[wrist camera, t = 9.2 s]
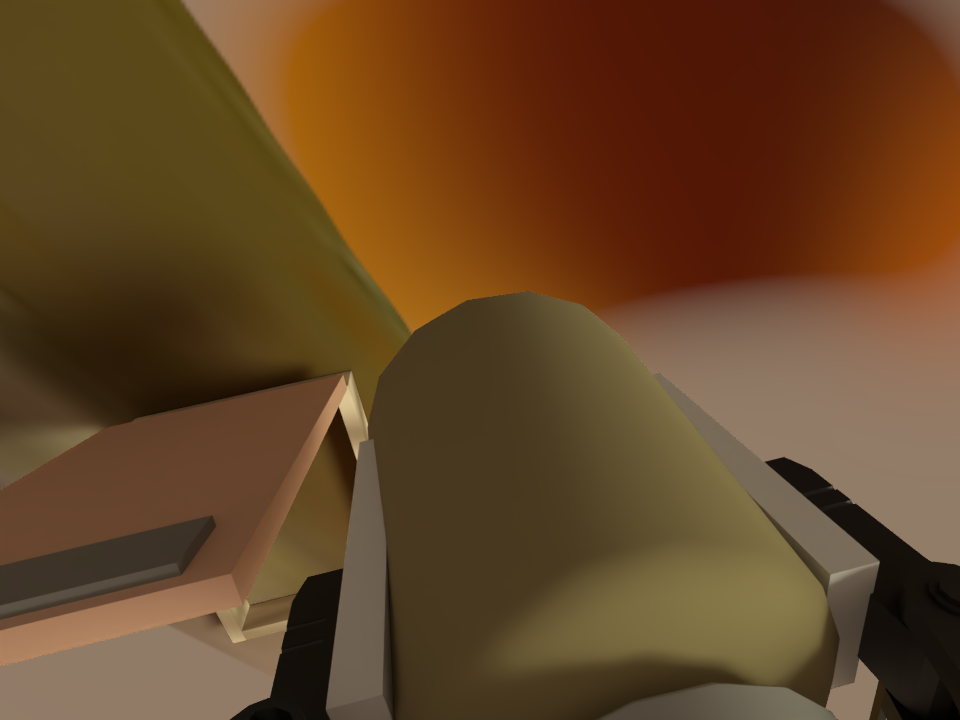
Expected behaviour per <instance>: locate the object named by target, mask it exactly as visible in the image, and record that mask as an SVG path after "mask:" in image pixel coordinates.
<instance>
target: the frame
mask: <svg viewBox="0 0 960 720" xmlns="http://www.w3.org/2000/svg"><path fill="white" fill-rule="evenodd" d="M339 375H343V376H344V379H345V383H346V386H347V391H346V393H345V395H344V397H343V399H342V401H341V403H340V405H339V408H340V411H341V414H342V417H343V420H344V423H345V426H346V429H347V432H348V435H349V438H350V441H351V444H352V447H353V450H354V453H355V456H356V459H358V451H359V443H360V442H362V441H366V440H368V429H367V427H368V423H367V419H366V416H365V413H364V410H363V407H362V404H361V400H360V397H359V394H358V391H357V388H356V384H355V381H354V378H353V375H352V372H351V370H350V371H346V372H341V373H337V374H332V375H328V376H323V377H319V378H314V379H310V380H305V381H301V382H296V383H292V384H287V385H283V386H278V387H274V388H269V389H265V390H260V391H256V392H251V393H247V394H242V395H238V396H233V397H229V398H224V399H220V400H215V401H211V402H206V403H202V404H198V405H193V406H189V407H184V408H180V409H175V410H171V411H166V412H162V413H157V414H153V415H148V416H144V417H139V418H135V419H134V420H133V421H138V420H142V419H147V418H151V417H155V416H160V415H164V414H169V413H173V412H178V411H182V410H187V409H191V408H196V407H200V406H205V405H209V404H214V403H218V402H223V401H227V400H232V399H236V398H241V397H245V396H250V395H254V394H259V393H263V392H267V391H272V390H276V389H281V388H285V387H290V386H294V385H299V384H303V383H308V382H312V381H317V380H321V379H326V378H330V377H335V376H339ZM133 421H132V422H133ZM296 595H297V594H294V595H290V596H286V597H282V598H278V599H274V600H270V601H266V602H262V603H258V604H254V605H249V603H248V601H247V599H246V600H245V602H244V604H243V605H242V606H238V607H234V608H230V609H226V610H222V611H218V612H216V613H217V615H218V617H219V618H220V620H221V622H222V624H223V626H224V627H225V629H226V631H227V633H228V634H229V636H230V638H231V640H232V641H233V643H236V642H240V641H244V640H248V639H252V638H256V637H260V636H264V635H268V634H271V633H275V632H279V631H283V630H287V628H286V626H287V622H288V617H289V613H290V609H291V604H292V601H293V599H294V598H295V596H296Z"/></svg>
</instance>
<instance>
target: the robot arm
mask: <svg viewBox="0 0 960 720" xmlns="http://www.w3.org/2000/svg"><path fill="white" fill-rule="evenodd" d="M652 375H653V376H654V377H655V378H656V380H657V381H658V382H659V383H660V385H661V386H662V387H663V388H664V390H665V391H666V392H667V393H668V395H669V396H670V397H671V398H672V400H673V401H674V402H675V403H676V405H677V406H678V407H679V408H680V410H681V411H682V412H683V413H684V414H685V416H686V417H687V418H688V419H689V421H690V422H691V423H692V424H693V426H694V427H695V428H696V429H697V431H698V432H699V433H700V434H701V436H702V437H703V438H704V439H705V441H706V442H707V443H708V444H709V446H710V447H711V448H712V449H713V451H714V452H715V453H716V454H717V455H718V457H719V458H720V459H721V460H722V462H723V463H724V464H725V465H726V467H727V468H728V469H729V470H730V472H731V473H732V474H733V475H734V477H735V478H736V479H737V480H738V482H739V483H740V484H741V485H742V487H743V488H744V489H745V490H746V492H747V493H748V494H749V495H750V496H751V498H752V499H753V500H754V501H755V503H756V504H757V505H758V506H759V508H760V509H761V510H762V511H763V513H764V514H765V515H766V516H767V518H768V519H769V520H770V521H771V523H772V524H773V525H774V526H775V528H776V529H777V530H778V531H779V533H780V534H781V535H782V536H783V537H784V539H785V540H786V541H787V542H788V544H789V545H790V546H791V547H792V549H793V550H794V551H795V552H796V554H797V555H798V556H799V557H800V559H801V560H802V561H803V562H804V564H805V565H806V566H807V567H808V569H809V570H810V571H811V572H812V573H813V575H814V576H815V577H816V578H817V580H818V581H819V582H820V583H821V585H822V586H823V589H824V592H825V595H826V598H827V601H828V604H829V607H830V610H831V613H832V616H833V619H834V622H835V625H836V628H837V631H838V634H839V637H840V641H839V647H838V653H837V659H836V665H835V671H834V677H833V682H832V686H831V689H833V688H836V687H840V686H843V685H847V684H850V683H854V681H855V676H856V671H857V667H858V662H859V659H860V660H861V661H862V662H863V663H864V664H865V665H866V666H867V667H868V669H869V670H870V671H871V672H872V673H873V674H874V675H875V676H876V677H877V679H878V680H879V682H878V686H877V690H876V695H875V698H874V703H873V707H872V711H871V715H870V719H869V720H886V718H887V720H960V566H958V565H955V564H947V563H940V562H931V561H929V560H928V559H926V558H925V557H923V556H922V555H921V554H920V553H918V552H917V551H916V550H915V549H913V548H912V547H911V546H909V545H908V544H907V543H906V542H904V541H903V540H902V539H900V538H899V537H898V536H896V535H895V534H894V533H893V532H892V531H890V530H889V529H888V528H886V527H885V526H884V525H883V524H881V523H880V522H879V521H877V520H876V519H875V518H873V517H872V516H871V515H870V514H868V513H867V512H866V511H865V510H863V509H862V508H861V507H859V506H858V505H857V504H853V503H852V502H851V500H850V499H849V498H848V497H847V496H845V495H844V494H843V493H841V492H840V491H839V490H837V489H836V490H835V489H834V488H833V486H832V485H831V484H830V483H829V482H827V481H826V480H825V479H823V478H822V477H821V476H820V475H818V474H817V473H816V472H814V471H813V470H812V469H810V468H808V467H805V466H803V465H801V464H799V463H796V462H794V461H792V460H790V459H787V458H785V457H782V458H778V459H774V460H770V461H766V462H764V461H762V460H761V459H760V458H759V457H758V456H757V455H755V454H754V453H753V452H752V451H751V450H750V449H748V448H747V447H746V446H745V445H744V444H743V443H741V442H740V441H739V440H738V439H737V438H736V437H734V436H733V435H732V434H731V433H730V432H729V431H728V430H726V429H725V428H724V427H723V426H722V425H720V424H719V423H718V422H717V421H716V420H715V419H714V418H712V417H711V416H710V415H709V414H708V413H707V412H705V411H704V410H703V409H702V408H701V407H700V406H698V405H697V404H696V403H695V402H694V401H693V400H691V399H690V398H689V397H688V396H687V395H686V394H685V393H683V392H682V391H681V390H680V389H679V388H678V387H676V386H675V385H674V384H673V383H672V382H671V381H669V380H668V379H667V378H666V377H665V376H664V375H662V374H661V373H660V372H659V373H655V374H652ZM286 628H287V632H285V635H284V639H283V643H282V648H281V649H282V654H280V656H279V661H278V665H277V669H276V674H275V678H274V683H273V687H272V691H271V696H270V698H267V699H265V700H262V701H259V702H257V703H254V704H252V705H249V706H248V707H246V708H245V709H244V710H242V711H241V712H240V713H238V714H237V715H235V716H234V717H233V718H232V719H230V720H395V719H394V709H393V692H392V667H391V642H390V617H389V592H388V567H387V542H386V534H385V527H384V519H383V511H382V503H381V495H380V487H379V479H378V471H377V463H376V456H375V448H374V440H373V439H371V440H366V441H362V442H360V443H359V451H358V459H357V466H356V474H355V482H354V490H353V498H352V506H351V514H350V522H349V530H348V537H347V545H346V553H345V561H344V568H343V569H339V570H335V571H331V572H327V573H323V574H319V575H315V576H311V577H307V579H306V581H305V582H304V584H303V585H302V587H301V588H300V590H299V592H298V593H297V595H296V596H295V598H294V599H293V601H292V604H291V609H290V613H289V617H288V622H287V626H286Z"/></svg>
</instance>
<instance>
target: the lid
mask: <svg viewBox="0 0 960 720" xmlns="http://www.w3.org/2000/svg"><path fill="white" fill-rule="evenodd" d="M346 391H347V386H346V383H345V379H344V376H343V375H339V376H335V377H330V378H326V379H321V380H317V381H312V382H308V383H303V384H299V385H294V386H290V387H285V388H281V389H276V390H272V391H267V392H263V393H259V394H254V395H250V396H245V397H241V398H236V399H232V400H227V401H223V402H218V403H214V404H209V405H205V406H200V407H196V408H191V409H187V410H182V411H178V412H173V413H169V414H164V415H160V416H155V417H151V418H147V419H142V420H138V421H133V422H129V423H124V424H120V425H115V426H111V427H107V428H105V429H103V430H102V431H100V432H98V433H97V434H95V435H93V436H91V437H90V438H88V439H86V440H85V441H83V442H81V443H80V444H78V445H76V446H75V447H73V448H71V449H70V450H68V451H66V452H65V453H63V454H61V455H60V456H58V457H56V458H55V459H53V460H51V461H50V462H48V463H46V464H44V465H43V466H41V467H39V468H38V469H36V470H34V471H33V472H31V473H29V474H28V475H26V476H24V477H23V478H21V479H19V480H18V481H16V482H14V483H13V484H11V485H9V486H8V487H6V488H4V489H3V490H1V491H0V666H3V665H7V664H12V663H16V662H20V661H24V660H27V659H31V658H36V657H39V656H44V655H47V654H51V653H55V652H59V651H63V650H67V649H71V648H75V647H79V646H83V645H87V644H91V643H95V642H99V641H103V640H107V639H111V638H115V637H119V636H123V635H127V634H131V633H135V632H139V631H143V630H147V629H150V628H154V627H159V626H162V625H167V624H171V623H175V622H179V621H183V620H187V619H191V618H195V617H199V616H202V615H206V614H210V613H214V612H218V611H222V610H226V609H230V608H234V607H238V606H242V605H243V604H244V602H245V600H246V598H247V596H248V594H249V592H250V590H251V588H252V586H253V584H254V582H255V580H256V577H257V575H258V573H259V571H260V569H261V567H262V565H263V563H264V561H265V559H266V557H267V555H268V553H269V550H270V548H271V546H272V544H273V542H274V540H275V538H276V536H277V534H278V532H279V530H280V528H281V526H282V523H283V521H284V519H285V517H286V515H287V513H288V511H289V509H290V507H291V505H292V503H293V501H294V499H295V496H296V494H297V492H298V490H299V488H300V486H301V484H302V482H303V480H304V478H305V476H306V474H307V472H308V469H309V467H310V465H311V463H312V461H313V459H314V457H315V455H316V453H317V451H318V449H319V447H320V445H321V442H322V440H323V438H324V436H325V434H326V432H327V430H328V428H329V426H330V424H331V422H332V420H333V418H334V415H335V413H336V411H337V409H338V407H339V405H340V403H341V401H342V399H343V397H344V395H345V393H346Z"/></svg>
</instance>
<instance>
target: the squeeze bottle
mask: <svg viewBox="0 0 960 720" xmlns="http://www.w3.org/2000/svg"><path fill="white" fill-rule="evenodd" d="M367 429H368V440H371V439H373V440H374V448H375V456H376V463H377V471H378V479H379V487H380V495H381V503H382V511H383V519H384V527H385V534H386V542H387V567H388V592H389V617H390V642H391V667H392V692H393V709H394V719H395V720H838V719H837V718H836V717H835V716H834V714H833V713H832V712H831V711H829V710H827V709H826V708H825V707H826V704H827V700H828V696H829V693H830V689H831V686H832V682H833V677H834V671H835V665H836V659H837V653H838V647H839V641H840V637H839V634H838V631H837V628H836V625H835V622H834V619H833V616H832V613H831V610H830V607H829V604H828V601H827V598H826V595H825V592H824V589H823V586H822V585H821V583H820V582H819V581H818V580H817V578H816V577H815V576H814V575H813V573H812V572H811V571H810V570H809V569H808V567H807V566H806V565H805V564H804V562H803V561H802V560H801V559H800V557H799V556H798V555H797V554H796V552H795V551H794V550H793V549H792V547H791V546H790V545H789V544H788V542H787V541H786V540H785V539H784V537H783V536H782V535H781V534H780V533H779V531H778V530H777V529H776V528H775V526H774V525H773V524H772V523H771V521H770V520H769V519H768V518H767V516H766V515H765V514H764V513H763V511H762V510H761V509H760V508H759V506H758V505H757V504H756V503H755V501H754V500H753V499H752V498H751V496H750V495H749V494H748V493H747V492H746V490H745V489H744V488H743V487H742V485H741V484H740V483H739V482H738V480H737V479H736V478H735V477H734V475H733V474H732V473H731V472H730V470H729V469H728V468H727V467H726V465H725V464H724V463H723V462H722V460H721V459H720V458H719V457H718V455H717V454H716V453H715V452H714V451H713V449H712V448H711V447H710V446H709V444H708V443H707V442H706V441H705V439H704V438H703V437H702V436H701V434H700V433H699V432H698V431H697V429H696V428H695V427H694V426H693V424H692V423H691V422H690V421H689V419H688V418H687V417H686V416H685V414H684V413H683V412H682V411H681V410H680V408H679V407H678V406H677V405H676V403H675V402H674V401H673V400H672V398H671V397H670V396H669V395H668V393H667V392H666V391H665V390H664V388H663V387H662V386H661V385H660V383H659V382H658V381H657V380H656V378H655V377H654V376H653V375H652V374H651V372H650V371H649V370H648V369H647V367H646V366H645V365H644V364H643V362H642V361H641V360H640V359H639V357H638V356H637V355H636V354H635V352H634V351H633V350H632V349H631V347H630V346H629V345H628V344H627V343H626V341H625V340H624V339H623V338H622V337H621V336H620V335H619V334H618V333H616V332H615V331H614V330H613V329H611V328H610V327H609V326H608V325H607V324H605V323H604V322H603V321H602V320H600V319H599V318H598V317H597V316H596V315H594V314H593V313H592V312H591V311H589V310H588V309H587V308H586V307H584V306H583V305H580V304H576V303H572V302H568V301H564V300H561V299H556V298H553V297H549V296H545V295H541V294H537V293H533V292H529V291H526V292H520V293H513V294H506V295H499V296H493V297H486V298H479V299H472V300H467V301H465V302H463V303H461V304H459V305H458V306H456V307H454V308H453V309H451V310H449V311H447V312H446V313H444V314H442V315H441V316H439V317H437V318H436V319H434V320H432V321H430V322H429V323H427V324H425V325H424V326H422V327H420V328H419V329H417V330H415V331H414V332H413V334H412V335H411V336H410V338H409V339H408V340H407V342H406V343H405V344H404V345H403V347H402V348H401V349H400V351H399V352H398V353H397V355H396V356H395V357H394V358H393V360H392V361H391V362H390V364H389V365H388V366H387V367H386V369H385V370H384V371H383V373H382V374H381V375H380V377H379V380H378V385H377V389H376V393H375V397H374V402H373V406H372V410H371V414H370V419H369V423H368V427H367Z"/></svg>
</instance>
